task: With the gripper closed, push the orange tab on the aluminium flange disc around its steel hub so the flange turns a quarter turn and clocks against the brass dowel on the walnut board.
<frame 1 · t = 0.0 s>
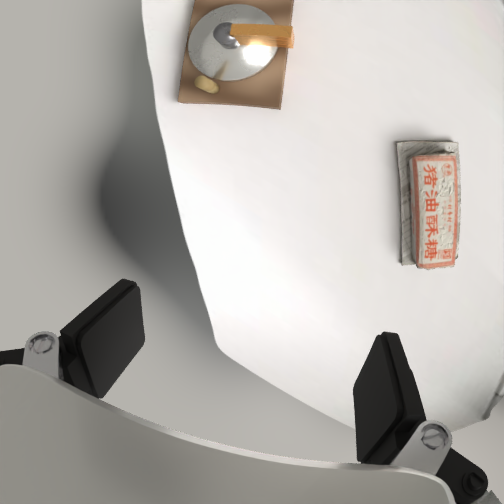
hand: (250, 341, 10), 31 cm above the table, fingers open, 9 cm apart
packaged product: (429, 202, 36), on the table
board: (237, 47, 33), on the table
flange: (236, 36, 28), point 5 cm above the table, hinge at 90.0°
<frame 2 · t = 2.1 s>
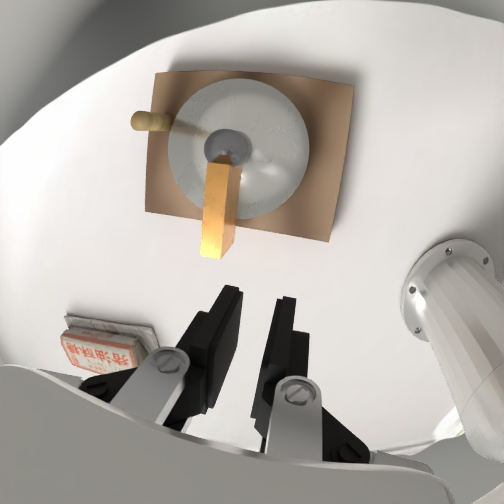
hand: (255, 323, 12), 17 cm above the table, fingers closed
packaged product: (116, 344, 40), on the table
board: (243, 147, 26), on the table
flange: (228, 161, 21), point 5 cm above the table, hinge at 90.0°
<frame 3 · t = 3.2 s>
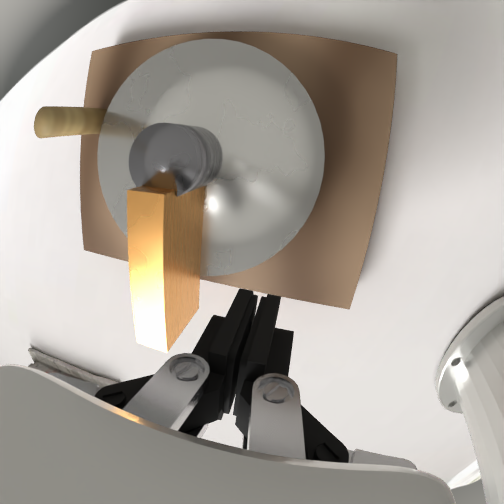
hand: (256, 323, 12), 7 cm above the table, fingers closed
packaged product: (84, 387, 30), on the table
board: (216, 154, 16), on the table
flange: (177, 182, 12), point 5 cm above the table, hinge at 90.0°
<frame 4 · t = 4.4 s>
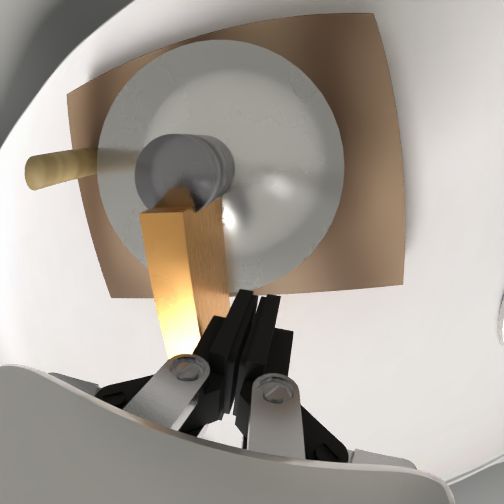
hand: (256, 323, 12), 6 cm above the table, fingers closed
board: (224, 163, 15), on the table
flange: (191, 197, 11), point 5 cm above the table, hinge at 83.4°, touching gripper
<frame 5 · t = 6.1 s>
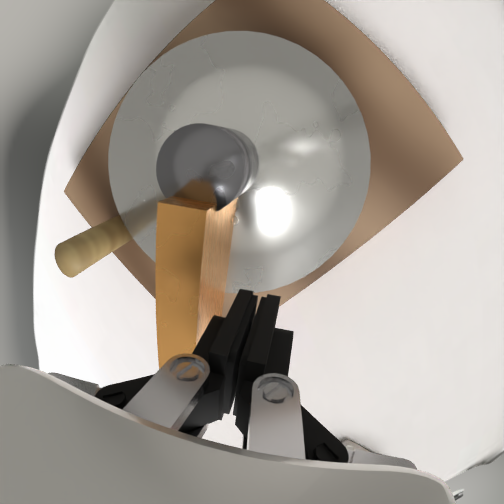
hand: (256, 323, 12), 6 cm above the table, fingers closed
board: (241, 159, 15), on the table
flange: (209, 191, 11), point 5 cm above the table, hinge at 37.6°, touching gripper
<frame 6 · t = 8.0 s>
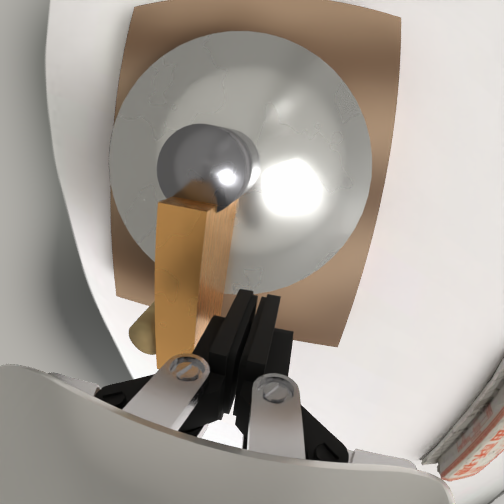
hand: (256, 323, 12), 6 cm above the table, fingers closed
packaged product: (492, 406, 18), on the table
board: (242, 159, 15), on the table
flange: (210, 192, 11), point 5 cm above the table, hinge at -2.4°, touching board, gripper
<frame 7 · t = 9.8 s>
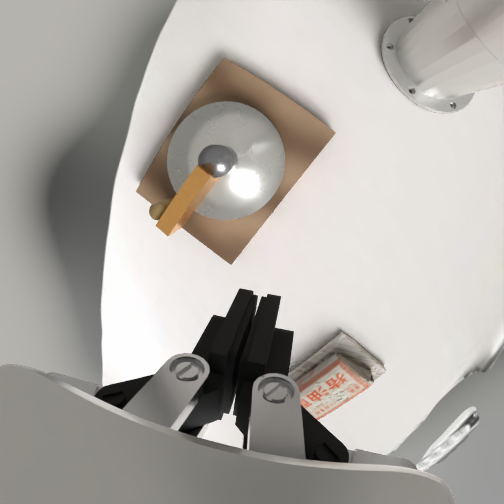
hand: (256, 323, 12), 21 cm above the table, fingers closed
packaged product: (318, 381, 39), on the table
board: (230, 159, 30), on the table
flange: (212, 169, 26), point 5 cm above the table, hinge at -2.4°
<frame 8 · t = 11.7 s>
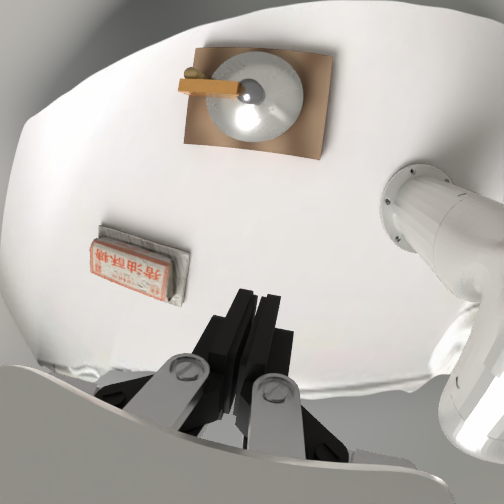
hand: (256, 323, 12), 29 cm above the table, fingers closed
packaged product: (141, 262, 48), on the table
board: (258, 99, 34), on the table
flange: (242, 92, 30), point 5 cm above the table, hinge at -2.4°
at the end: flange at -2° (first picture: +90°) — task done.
